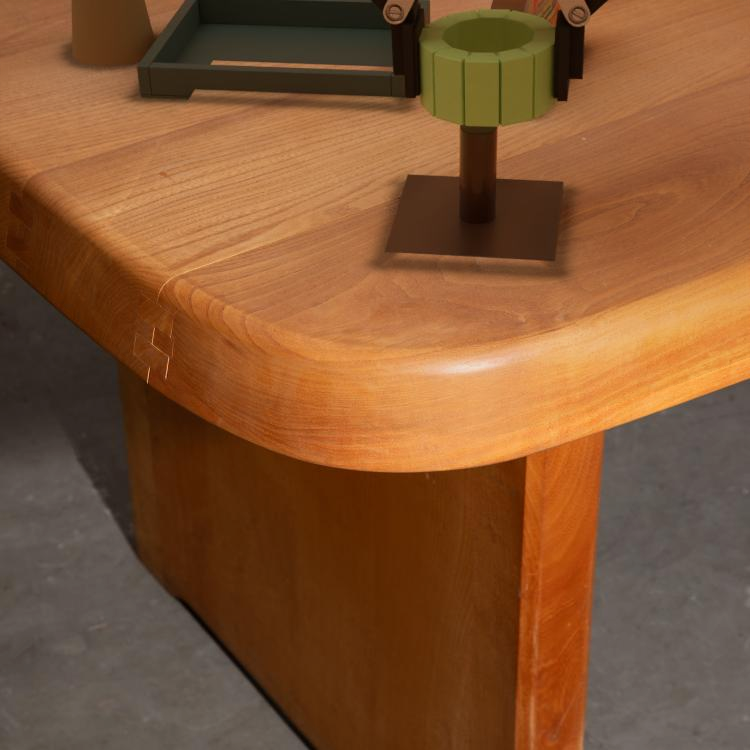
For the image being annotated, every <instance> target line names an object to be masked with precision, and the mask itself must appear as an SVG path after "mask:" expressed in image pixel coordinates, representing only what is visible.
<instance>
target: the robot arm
mask: <svg viewBox="0 0 750 750" xmlns="http://www.w3.org/2000/svg"><path fill="white" fill-rule="evenodd" d="M371 1H372V2H373V3H374V4H375V5H376V6H377V7H378V8H379V9H380V10H382V11H383V16H384V18H385V19H386V21H387V22H389V23H391V34H392V58H393V67H392V72H393V74H394V76H404V83H405V96H404V98H405V99H417V97H420V66H419V38H420V35H421V32H422V29H423V28H424V26H425V19H424V8H421V3H418V0H371ZM608 1H609V0H557V2H558V4H559V6H560V8H561V10H558V13H557V20H556V27H555V54H554V95H553V98H554V99H557V100H556V101H557V102H568V99H569V90H570V81H571V80H583V77H584V63H585V62H584V61H585V36H586V35H585V34H586V25H587V24H588V22H589V21H590V18H591V17H592V16H593V15H594V14H595V13H596V12H597V11H598V10H599V9H600V8H601V7H603V6H604V5H605V4H606V3H607V2H608Z"/></svg>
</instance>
